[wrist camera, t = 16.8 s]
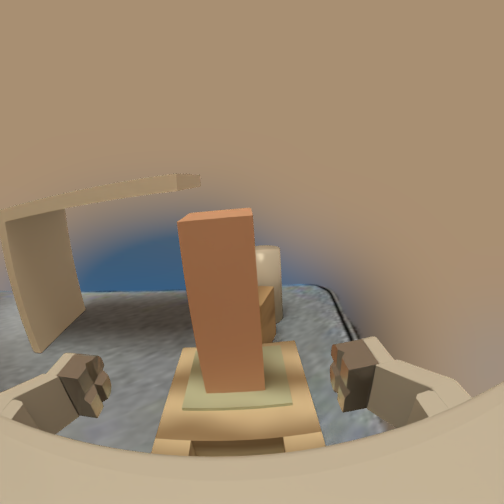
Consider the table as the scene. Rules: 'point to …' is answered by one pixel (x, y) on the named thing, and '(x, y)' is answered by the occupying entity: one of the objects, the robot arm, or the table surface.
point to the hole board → (240, 411)
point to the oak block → (267, 313)
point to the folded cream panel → (59, 252)
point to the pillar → (223, 298)
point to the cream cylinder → (270, 274)
